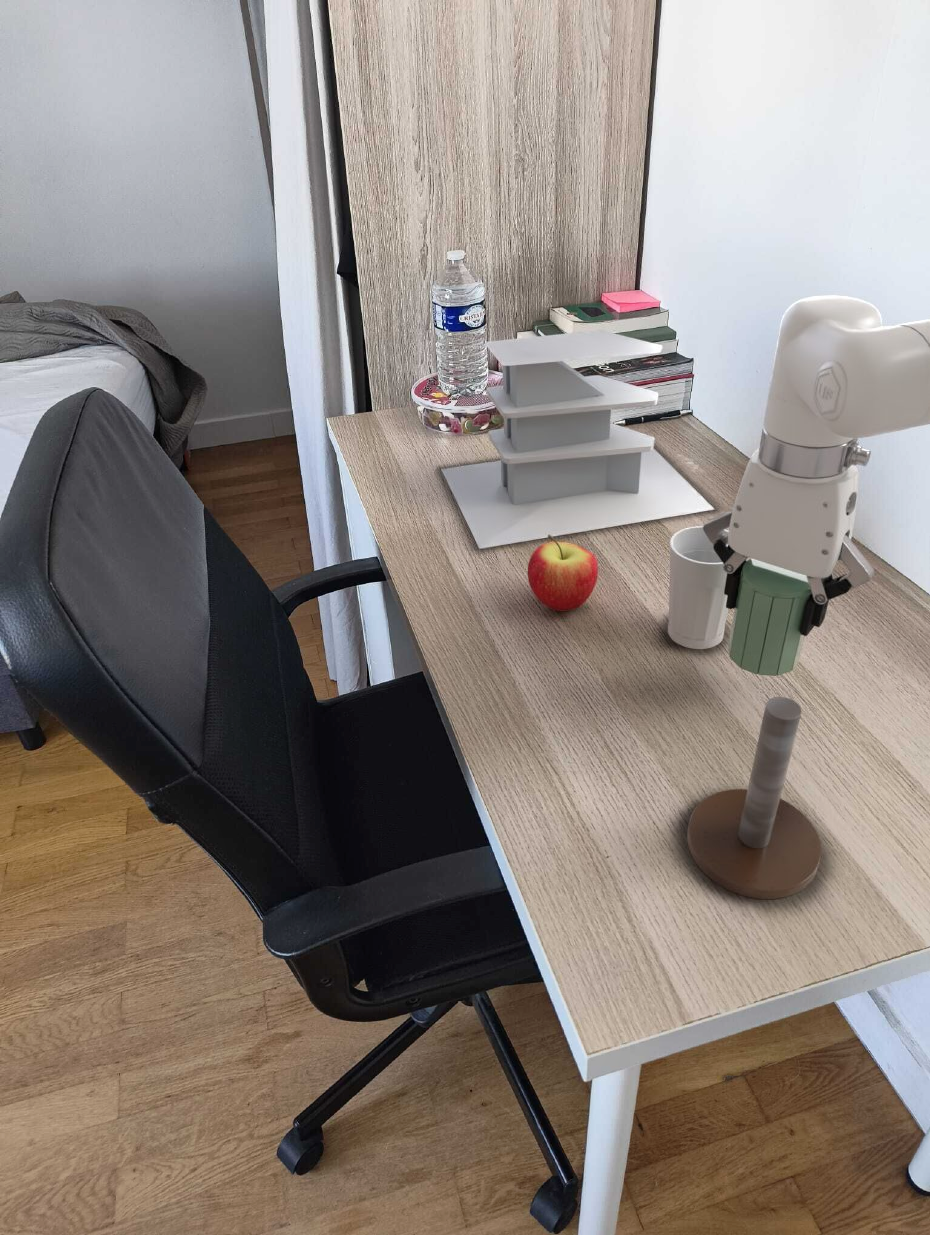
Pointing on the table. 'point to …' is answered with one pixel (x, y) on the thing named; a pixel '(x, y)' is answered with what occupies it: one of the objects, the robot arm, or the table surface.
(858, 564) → the robot arm
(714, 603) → the cup
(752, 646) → the green cup
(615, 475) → the file organizer
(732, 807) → the towel stand
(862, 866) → the table surface
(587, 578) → the apple
